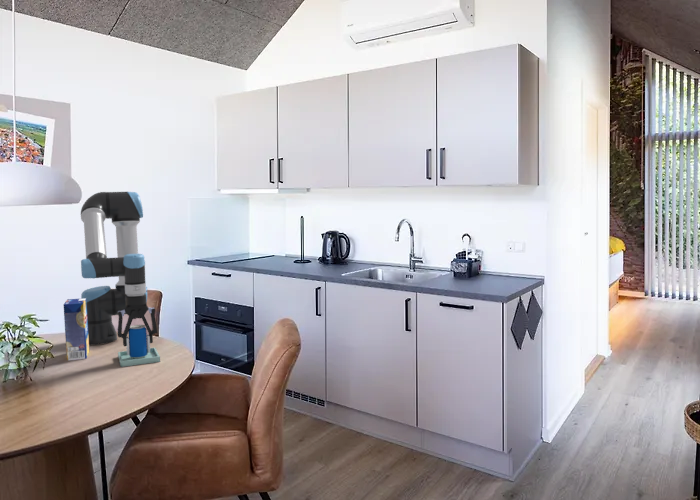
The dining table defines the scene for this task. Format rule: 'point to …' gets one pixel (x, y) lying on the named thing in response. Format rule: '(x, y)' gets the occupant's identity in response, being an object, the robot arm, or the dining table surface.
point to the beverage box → (76, 329)
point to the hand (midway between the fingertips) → (138, 352)
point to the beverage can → (137, 341)
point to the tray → (129, 361)
